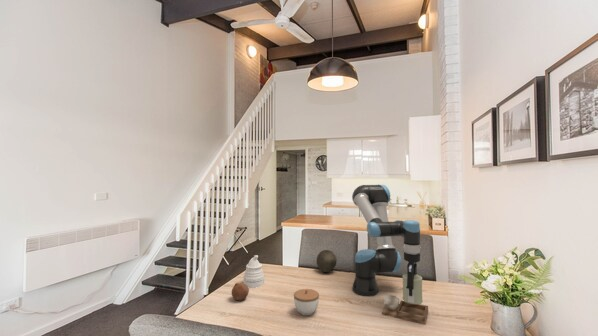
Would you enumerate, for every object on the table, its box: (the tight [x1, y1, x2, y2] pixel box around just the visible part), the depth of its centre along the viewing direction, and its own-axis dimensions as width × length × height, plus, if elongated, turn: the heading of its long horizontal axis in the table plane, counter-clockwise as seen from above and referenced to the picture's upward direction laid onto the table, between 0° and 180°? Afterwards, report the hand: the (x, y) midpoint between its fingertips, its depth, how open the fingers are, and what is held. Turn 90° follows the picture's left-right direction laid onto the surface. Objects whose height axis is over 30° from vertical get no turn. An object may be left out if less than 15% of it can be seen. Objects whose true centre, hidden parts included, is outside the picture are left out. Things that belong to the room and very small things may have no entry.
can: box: [402, 273, 424, 305], centre depth 142 cm, size 9×9×12 cm
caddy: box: [381, 294, 429, 325], centre depth 144 cm, size 20×13×6 cm, turn 61°
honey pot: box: [243, 254, 265, 289], centre depth 183 cm, size 13×13×18 cm
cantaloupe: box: [316, 249, 338, 273], centre depth 203 cm, size 14×14×15 cm
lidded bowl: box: [293, 288, 320, 316], centre depth 146 cm, size 13×13×11 cm
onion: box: [231, 282, 250, 301], centre depth 161 cm, size 10×9×10 cm
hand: (412, 298), depth 142 cm, fingers closed on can, 9 cm apart
